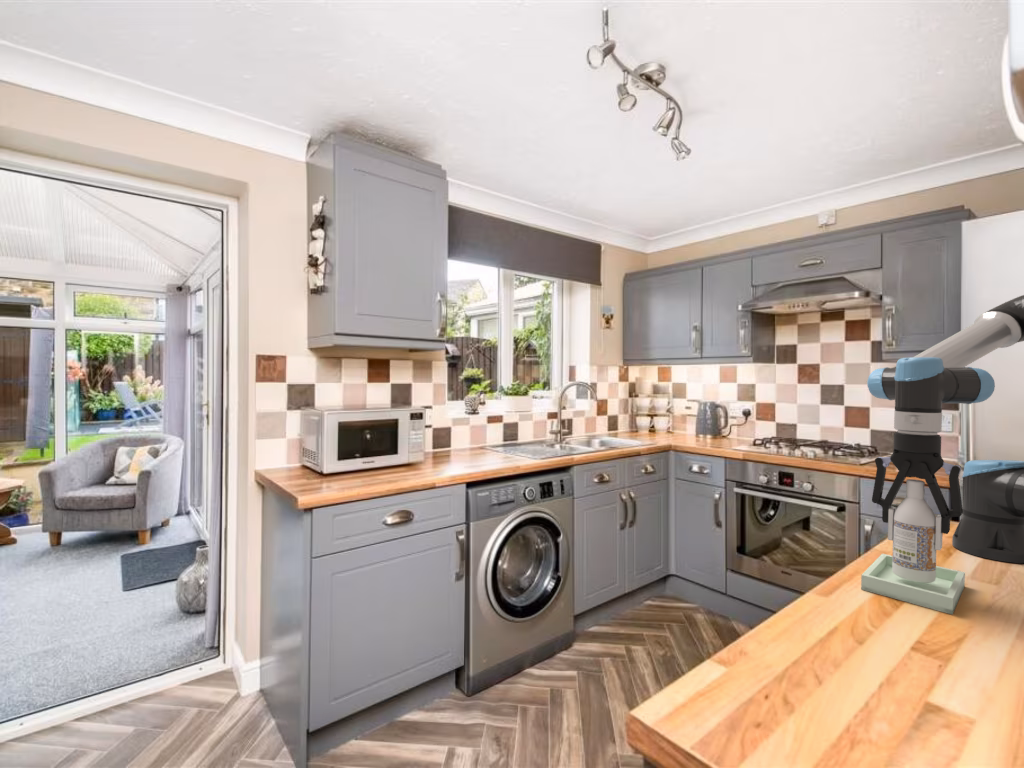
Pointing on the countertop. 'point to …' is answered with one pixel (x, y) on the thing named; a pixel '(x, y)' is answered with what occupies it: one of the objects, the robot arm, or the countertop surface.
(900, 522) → the bath foam
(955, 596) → the tray
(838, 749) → the countertop surface
